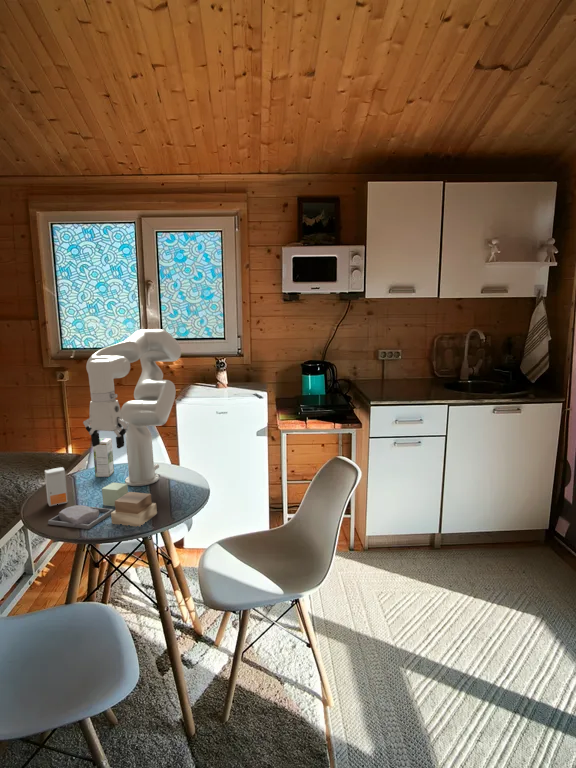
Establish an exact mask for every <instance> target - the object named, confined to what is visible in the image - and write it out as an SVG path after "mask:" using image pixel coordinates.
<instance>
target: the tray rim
mask: <svg viewBox="0 0 576 768" xmlns="http://www.w3.org/2000/svg"><path fill="white" fill-rule="evenodd" d="M78 505H79V504H78ZM78 505H77V504H74V506H78ZM86 506H87V505H86ZM87 507H90V508H92V509H98V510H99V513H103V514H102V515H101V516H98V518H97V519H96V520H95V521H93V522H91V523H88V524H77V525H76V527H74V525H73V523H70V522H63V521H61V520H60V519H59V514H58V515H55V516H54V517H52V518H50V519H48V520H47V524H48V525H53V526H60V527H67V528H68V527H69V528H77V529H83V530H90V529H92V528H93V527H94V526H96V525H97V524H99V523H100V522H102V521H103V520H105V519H107V518H108V517H109V516H111V513H112V512H113V511H114V509H113V508H105V507H104V508H103V507H95V506H87Z"/></svg>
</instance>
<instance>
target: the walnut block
mask: <svg viewBox="0 0 576 768" xmlns="http://www.w3.org/2000/svg"><path fill="white" fill-rule="evenodd" d="M152 503H153V501H152V494H151V493H145V492H137V491H135V492H134V491H128V493H127V494H125V495H124V496H122V497H120V498H119V499H117V500H116V501H115V506H114V508H115V509H114V511H116V512H123V513H132V514H139V513H140V512H141V511H143V510H144V509H146V508H147V507H148V506H150V505H151V504H152Z"/></svg>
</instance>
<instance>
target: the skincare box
mask: <svg viewBox="0 0 576 768" xmlns="http://www.w3.org/2000/svg"><path fill="white" fill-rule="evenodd" d="M44 479H45V480H44V481H45V489H46V491H45V492H46V500H47V504H48V506H49V507H54V506H58V505H63V504H68V503H69V501H68V492H67V491H68V490H67V479H66V470H65V468H64V467H63V466H62V467H61V466H60V467H56V468H51V469H50V468H49V469H45V470H44ZM57 504H58V505H57Z"/></svg>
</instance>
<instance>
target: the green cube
mask: <svg viewBox="0 0 576 768" xmlns="http://www.w3.org/2000/svg"><path fill="white" fill-rule="evenodd" d="M128 487H129V485H127V484H126V483H123V482H122V483H120V482H111V483H109V484H107V485H106V486H104V487H102V488H101V493H102V494H101V495H102V503H103V504H102V506H108V507H109V506H110V507H115V501H116V500H117V499H119V498H120V497H122V496H124V495H125V494H127V493H128V492H129V489H128Z"/></svg>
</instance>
